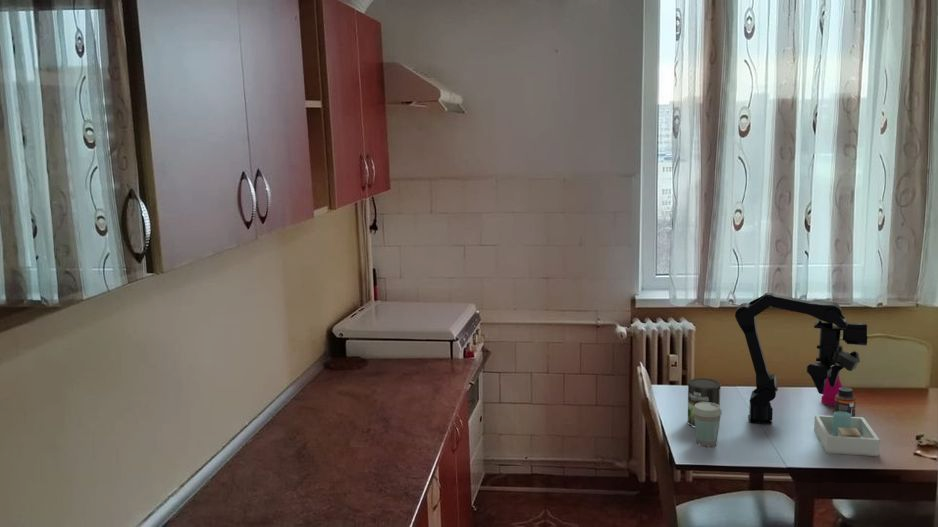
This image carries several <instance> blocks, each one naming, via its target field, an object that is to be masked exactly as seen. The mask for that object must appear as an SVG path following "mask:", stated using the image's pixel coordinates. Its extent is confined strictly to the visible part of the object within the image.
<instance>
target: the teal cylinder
mask: <svg viewBox="0 0 938 527" xmlns="http://www.w3.org/2000/svg"><path fill="white" fill-rule="evenodd" d="M832 416H833V436H838V427H841V428H851V414H850V413H847V412H841V411H838V412H835V411H834V412H833V413H832Z"/></svg>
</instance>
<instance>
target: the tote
mask: <svg viewBox="0 0 938 527" xmlns="http://www.w3.org/2000/svg"><path fill="white" fill-rule="evenodd" d="M813 424H814V425H813V426H814V428H813V429H814V430H813V431H814V432H815V434H816V436H817V438H818V440H819V442H820V444H821V446H822V448H823V449H824V450H823V451H825V454H833V455H835V454H836V455H848V456H851V455H852V456H867V457H880V447H881V446H880V445H881V440H880V438H879V437H878V435H877V434H876V433H875V431H874V430H873V429H872V427H871V426H870V425H869V424H870V423H869V422H867V420H866V419H865V417H861V416H859V417H858V416H855V417H851V428H857V430H858V431H859V433H860V434H861V438H857V437H839V436H833V415H822V414H820V415H819V414H814V423H813Z"/></svg>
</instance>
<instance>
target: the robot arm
mask: <svg viewBox="0 0 938 527" xmlns="http://www.w3.org/2000/svg"><path fill="white" fill-rule="evenodd" d="M769 308H775V309H779V310H783V311H784V310H785V311H790V312H795V313H798V314H805V315H808V316H811V317H813V318H815V319H817V320H818V321H816V322H815V323H814V324H813V328H814V329H819V343H818V344H817V345H816V349H817V350H818V357H816V358H815V361H813V362H812V363H810V364H808V365H806V373H807V374H808V375H810V377H811V379H812V381H813V383H814V385H815V388H816V390H817V392H818V394H820V395H823V391H824V387H825V383H826V379H827V378H828V380H829V383H830V386H832V387H834V386H835V383H836V380H837V378H838V375H839V374H840V372H841V371H842V370H843V369H845V370H847V371H849V372H852V371H853V370H856V368H857V366H858V364H859V363H860V359H861V358H860V354H859V352H858V351H855V350H853V351H851V352H850V353H849V352H846V351H844V350H843V345H840V344H841V339H842V341H844V343H846V345H852V346H853V345H854V346H864V347H866V346H867V345H868V324H867V323H865V322H859V323H857V322H848V320H847V318H845V316H844V315H843V312H842V307H841V305H840V304H839V303H837V302H835V301H833V300H832V301H830V300H829V301H826V300H824V301H823V300H818V301H817V300H816V301H809V300H805V299H800V298H796V297H790V296H785V295H780V294H774V293H772V292H766V293H763V295H761V296H760V297H757V298H755V299H753V300H751V301H750V302H748V303H747V302H744V303H740V305H738V306H737V308H736V311H735V314H734V318H735V320H736V322H737V324H738V326H739V328H740V329H741V331H742V333H743V335H744V337H745V341H746V343H747V344H746V345H747V348H748V352H749V354H750V359H751V363H752V365H753V366H752V367H753V369H754V372H755V387H756V388H754V389H753V390H752V392H751V395H750V398H749V406H748V408H749V410H748V411H749V413H748V415H747V416H748V420H749V423H751V424H765V425H766V424H769V425H771V424H772V421H773V413H774V412H773V407H772V404H771V402H772V401H773V400H774V399H775V398H776V397H777V396H776V395H777V392H778V391H779V390H778V389H779V383H778V381H777V378H776V373H770V371H769V369H768V366H767V362H766V358H765V356H764V355H765V354H764V351H763V348H762V344H761V340H760V337H759V333H758V330H757V329H758V328H757V316H758V315H759V314H761V313H762V312H764V311H765V310H767V309H769ZM841 331H842V338H841ZM839 376H840V375H839Z"/></svg>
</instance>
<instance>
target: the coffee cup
mask: <svg viewBox="0 0 938 527" xmlns="http://www.w3.org/2000/svg"><path fill="white" fill-rule="evenodd" d="M722 412H723V411H722V409H721V405H720V406H719V405H717V404H715V403H710V402H700V403H696V404H695V406H694V408H693V413H694V421H695V428H694V429H695V438H696V443H698V444H700V445H702V446H701V447H704V446H709V447H708V448H711V447H710V446H713V447H715V445H716V446H717V443H718V436H719V431H720V430H719V429H720V426H719V424H720V422H721V415H722V414H723V413H722ZM720 425H721V424H720ZM698 444H697V445H698ZM700 445H699V446H700Z"/></svg>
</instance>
